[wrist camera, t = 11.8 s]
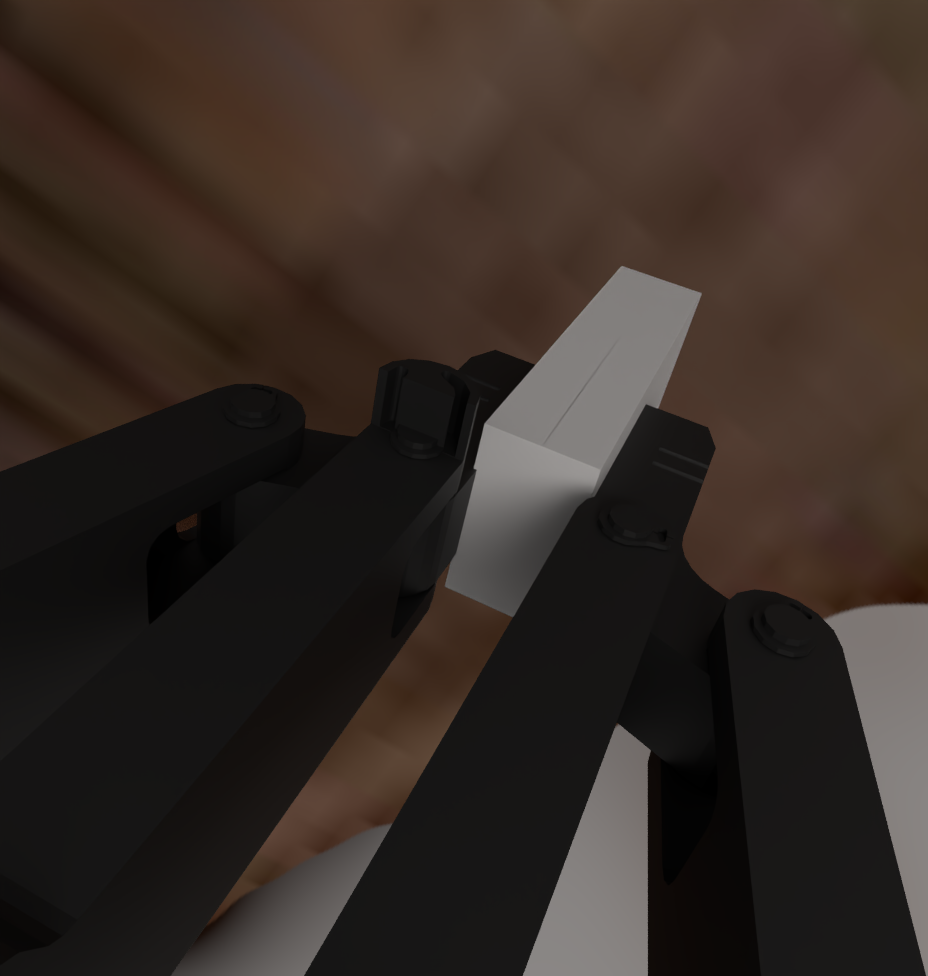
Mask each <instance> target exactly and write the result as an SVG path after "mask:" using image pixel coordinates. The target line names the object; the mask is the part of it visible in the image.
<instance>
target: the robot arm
mask: <svg viewBox="0 0 928 976" xmlns="http://www.w3.org/2000/svg"><path fill="white" fill-rule="evenodd" d="M701 294H702V293H699V292H696V291H693V290H690V289H687V288H684V287H682V286H679V285H676V284H673V283H670V282H667V281H664V280H661V279H658V278H655V277H652V276H650V275H647V274H644V273H641V272H638V271H635V270H632V269H629V268H626V267H623V266H621V267H620V268H619V270H618V271H617V272H616V273H615V274H614V275H613V276H612V278H611V279H610V280H609V281H608V282H607V283H606V285H605V286H604V287H603V288H602V289H601V290H600V291H599V293H598V294H597V295H596V296H595V297H594V298H593V299H592V301H591V302H590V303H589V304H588V305H587V306H586V308H585V309H584V310H583V311H582V312H581V313H580V314H579V316H578V317H577V318H576V319H575V320H574V321H573V322H572V324H571V325H570V326H569V327H568V328H567V329H566V331H565V332H564V333H563V334H562V335H561V336H560V337H559V339H558V340H557V341H556V342H555V343H554V344H553V345H552V347H551V348H550V349H549V350H548V351H547V352H546V354H545V355H544V356H543V357H542V358H541V359H540V360H539V362H538V363H537V364H536V365H534V364H531V363H529V362H526V361H524V360H521V359H518V358H516V357H513V356H510V355H508V354H505V353H502V352H500V351H497V350H494V351H490V352H487V353H484V354H481V355H478V356H474V357H471V358H470V359H469V360H468V361H467V362H466V363H465V364H464V365H463V366H462V367H461V368H460V369H459V370H458V371H457V370H456V369H454V368H452V367H450V366H447V365H443V364H439V363H436V362H432V361H426V360H414V359H408V360H401V361H393V362H391V363H389V364H387V365H384V366H382V367H380V368H379V374H378V381H377V387H376V394H375V400H374V407H373V414H372V420H371V424H370V425H369V426H368V427H367V428H366V429H364V430H363V431H362V432H361V433H360V434H359V435H358V436H357V437H352V436H344V435H336V434H331V433H326V432H321V431H316V430H311V429H306V428H305V418H306V415H305V412H304V410H303V407H302V405H301V404H300V403H299V402H298V401H297V400H296V399H295V398H294V397H293V396H291V395H290V394H287V393H285V392H283V391H281V390H278V389H276V388H273V387H269V386H263V385H259V384H234V385H230V386H226V387H222V388H217V389H215V390H212V391H210V392H207V393H204V394H202V395H199V396H197V397H194V398H191V399H189V400H186V401H183V402H181V403H178V404H176V405H173V406H170V407H168V408H165V409H163V410H160V411H157V412H155V413H152V414H150V415H147V416H144V417H142V418H139V419H137V420H134V421H131V422H129V423H126V424H124V425H121V426H118V427H116V428H113V429H111V430H108V431H105V432H103V433H100V434H98V435H95V436H92V437H90V438H87V439H85V440H82V441H79V442H77V443H74V444H72V445H69V446H66V447H64V448H61V449H59V450H56V451H53V452H51V453H48V454H45V455H43V456H40V457H38V458H35V459H32V460H30V461H27V462H25V463H22V464H19V465H17V466H14V467H12V468H9V469H6V470H4V471H1V472H0V976H171V974H172V973H173V971H174V970H175V969H176V967H177V966H178V964H179V963H180V961H181V960H182V959H183V957H184V956H185V954H186V953H187V951H188V950H189V949H190V947H191V946H192V944H193V943H194V942H195V940H196V939H197V937H198V936H199V934H200V933H201V932H202V930H203V929H204V927H205V926H206V925H207V923H208V922H209V920H210V919H211V918H212V916H213V915H214V913H215V912H216V910H217V909H218V908H219V906H220V905H221V903H222V902H223V900H224V899H225V898H226V896H227V895H228V893H229V892H230V891H231V889H232V888H233V886H234V885H235V883H236V882H237V881H238V879H239V878H240V876H241V875H242V874H243V872H244V871H245V869H246V868H247V866H248V865H249V864H250V862H251V861H252V859H253V858H254V857H255V855H256V854H257V852H258V851H259V849H260V848H261V847H262V845H263V844H264V842H265V841H266V840H267V838H268V837H269V835H270V834H271V832H272V831H273V830H274V828H275V827H276V825H277V824H278V823H279V821H280V820H281V818H282V817H283V815H284V814H285V813H286V811H287V810H288V808H289V807H290V805H291V804H292V803H293V801H294V800H295V798H296V797H297V796H298V794H299V793H300V791H301V790H302V788H303V787H304V786H305V784H306V783H307V781H308V780H309V779H310V777H311V776H312V774H313V773H314V771H315V770H316V769H317V767H318V766H319V764H320V763H321V762H322V760H323V759H324V757H325V756H326V754H327V753H328V752H329V750H330V749H331V747H332V746H333V745H334V743H335V742H336V740H337V739H338V737H339V736H340V735H341V733H342V732H343V730H344V729H345V728H346V726H347V725H348V723H349V722H350V720H351V719H352V718H353V716H354V715H355V713H356V712H357V710H358V709H359V708H360V706H361V705H362V703H363V702H364V701H365V699H366V698H367V696H368V695H369V693H370V692H371V691H372V689H373V688H374V686H375V685H376V684H377V682H378V681H379V679H380V678H381V676H382V675H383V674H384V672H385V671H386V669H387V668H388V667H389V665H390V664H391V662H392V661H393V659H394V658H395V657H396V655H397V654H398V652H399V651H400V650H401V648H402V647H403V645H404V644H405V642H406V641H407V640H408V638H409V637H410V635H411V634H412V633H413V631H414V630H415V628H416V627H417V625H418V624H419V623H420V621H421V620H422V618H423V617H424V615H425V614H426V613H427V611H428V610H429V607H430V604H431V602H432V599H433V595H434V591H435V587H436V582H437V579H438V578H439V576H440V575H441V574H442V572H443V571H444V570H445V568H446V567H447V566H448V564H449V563H450V561H451V563H450V568H449V572H448V576H447V580H446V584H445V587H447V588H449V589H451V590H454V591H456V592H458V593H460V594H462V595H465V596H467V597H469V598H471V599H474V600H476V601H478V602H480V603H482V604H485V605H487V606H489V607H491V608H494V609H496V610H498V611H500V612H503V613H505V614H507V615H509V616H511V617H513V618H512V620H511V622H510V623H509V625H508V627H507V629H506V630H505V632H504V634H503V636H502V637H501V639H500V641H499V642H498V644H497V646H496V648H495V649H494V651H493V653H492V654H491V656H490V658H489V660H488V661H487V663H486V665H485V666H484V668H483V670H482V672H481V673H480V675H479V677H478V678H477V680H476V682H475V684H474V685H473V687H472V689H471V690H470V692H469V694H468V696H467V697H466V699H465V701H464V702H463V704H462V706H461V708H460V709H459V711H458V713H457V714H456V716H455V718H454V720H453V721H452V723H451V725H450V726H449V728H448V730H447V732H446V733H445V735H444V737H443V738H442V740H441V742H440V744H439V745H438V747H437V749H436V750H435V752H434V754H433V756H432V757H431V759H430V761H429V762H428V764H427V766H426V768H425V769H424V771H423V773H422V774H421V776H420V778H419V780H418V781H417V783H416V785H415V786H414V788H413V790H412V792H411V793H410V795H409V797H408V799H407V800H406V802H405V804H404V805H403V807H402V809H401V811H400V812H399V814H398V816H397V817H396V819H395V821H394V823H393V824H392V826H391V828H390V829H389V831H388V833H387V835H386V836H385V838H384V840H383V842H382V843H381V845H380V847H379V848H378V850H377V852H376V854H375V855H374V857H373V859H372V860H371V862H370V864H369V866H368V867H367V869H366V871H365V872H364V874H363V876H362V877H361V879H360V881H359V883H358V884H357V886H356V888H355V889H354V891H353V893H352V895H351V896H350V898H349V900H348V902H347V903H346V905H345V907H344V909H343V910H342V912H341V913H340V915H339V917H338V919H337V920H336V922H335V924H334V926H333V927H332V929H331V931H330V932H329V934H328V936H327V938H326V939H325V941H324V943H323V945H322V946H321V948H320V950H319V951H318V953H317V955H316V956H315V958H314V960H313V961H312V963H311V965H310V967H309V968H308V970H307V972H306V974H305V975H304V976H523V973H524V971H525V968H526V965H527V962H528V960H529V957H530V955H531V951H532V949H533V946H534V943H535V941H536V938H537V936H538V933H539V930H540V928H541V925H542V922H543V919H544V917H545V914H546V911H547V909H548V906H549V903H550V900H551V898H552V895H553V893H554V890H555V887H556V884H557V882H558V879H559V876H560V874H561V871H562V868H563V866H564V863H565V860H566V858H567V855H568V852H569V849H570V847H571V844H572V841H573V839H574V836H575V833H576V830H577V828H578V825H579V822H580V820H581V817H582V814H583V811H584V809H585V806H586V803H587V801H588V798H589V796H590V793H591V790H592V787H593V785H594V782H595V779H596V776H597V774H598V771H599V768H600V766H601V763H602V760H603V758H604V755H605V752H606V750H607V747H608V744H609V742H610V739H611V736H612V734H613V731H614V728H615V726H616V723H618V724H620V725H621V726H622V727H623V728H624V729H626V730H627V731H628V732H629V733H631V734H632V735H633V736H634V737H636V738H637V739H638V740H639V741H640V742H642V743H643V744H644V745H645V746H647V747H648V748H649V749H650V750H651V753H650V756H649V760H648V976H926V974H925V970H924V966H923V962H922V958H921V954H920V950H919V946H918V942H917V939H916V935H915V931H914V927H913V923H912V919H911V915H910V911H909V907H908V903H907V899H906V896H905V892H904V887H903V884H902V880H901V876H900V872H899V868H898V864H897V860H896V856H895V852H894V848H893V844H892V841H891V836H890V833H889V829H888V825H887V821H886V817H885V813H884V809H883V805H882V801H881V797H880V793H879V789H878V785H877V782H876V778H875V774H874V770H873V766H872V762H871V758H870V754H869V750H868V747H867V742H866V738H865V735H864V731H863V727H862V723H861V719H860V715H859V711H858V707H857V703H856V699H855V695H854V691H853V687H852V684H851V680H850V676H849V672H848V668H847V664H846V660H845V656H844V653H843V648H842V646H841V644H840V642H839V640H838V638H837V636H836V634H835V632H834V630H833V629H832V628H831V627H830V626H829V625H828V624H827V623H826V622H825V621H824V620H823V619H822V618H821V617H820V616H819V615H818V614H817V613H816V612H814V611H813V610H811V609H810V608H808V607H806V606H805V605H803V604H802V603H800V602H799V601H797V600H794V599H792V598H789V597H787V596H784V595H781V594H779V593H776V592H770V591H762V590H750V591H745V592H740V593H737V594H736V595H734V596H733V597H732V598H731V599H730V600H729V599H728V598H726V597H725V596H723V595H722V594H720V593H719V592H717V591H716V590H714V589H713V588H712V587H711V586H709V585H708V584H707V583H706V582H704V581H703V580H702V579H701V578H700V577H699V576H698V575H697V574H696V573H695V571H694V570H693V569H692V568H691V566H690V565H689V563H688V561H687V560H686V558H685V556H684V552H683V548H682V541H683V535H684V533H685V530H686V527H687V524H688V522H689V519H690V516H691V514H692V511H693V508H694V505H695V503H696V500H697V497H698V495H699V492H700V489H701V487H702V483H703V481H704V478H705V476H706V473H707V470H708V467H709V465H710V462H711V460H712V457H713V454H714V451H715V449H716V448H715V445H714V442H713V440H712V437H711V434H710V431H709V429H708V427H705V426H702V425H700V424H697V423H694V422H692V421H689V420H687V419H684V418H681V417H679V416H676V415H673V414H671V413H668V412H665V411H663V410H660V409H658V407H659V405H660V402H661V399H662V397H663V394H664V392H665V389H666V386H667V384H668V381H669V378H670V376H671V373H672V371H673V368H674V365H675V363H676V360H677V357H678V355H679V352H680V350H681V347H682V344H683V342H684V339H685V336H686V334H687V331H688V328H689V326H690V323H691V321H692V318H693V315H694V313H695V310H696V307H697V305H698V302H699V300H700V297H701ZM195 513H197V525H196V526H194V527H192V528H190V529H188V530H186V531H182V532H178V533H177V530H176V523H177V522H179V521H181V520H183V519H185V518H187V517H189V516H191V515H193V514H195Z"/></svg>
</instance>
